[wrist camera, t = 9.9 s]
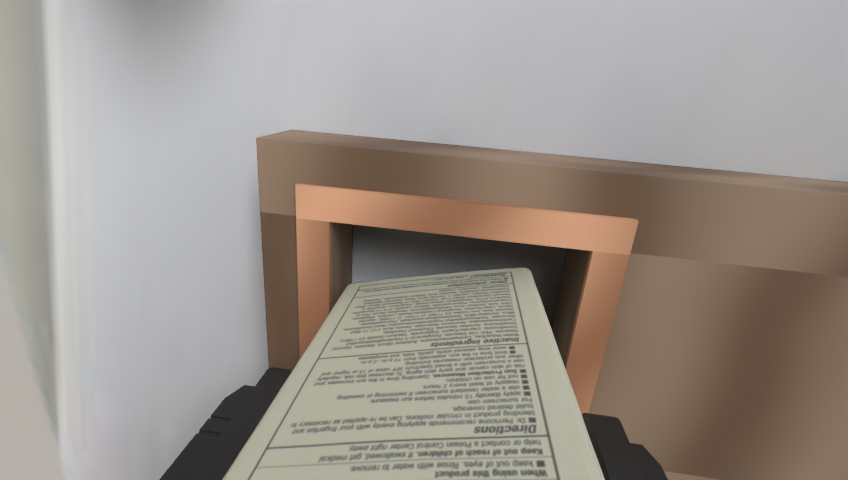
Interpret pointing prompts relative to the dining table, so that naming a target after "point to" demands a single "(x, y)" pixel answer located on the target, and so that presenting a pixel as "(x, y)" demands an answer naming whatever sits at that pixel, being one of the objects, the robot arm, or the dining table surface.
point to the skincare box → (427, 389)
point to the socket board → (607, 283)
